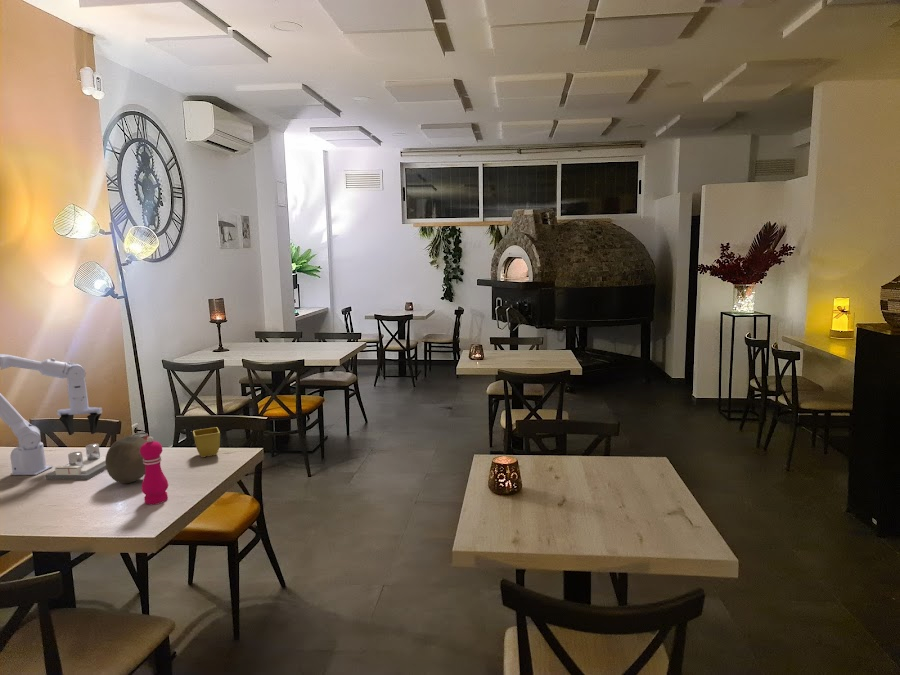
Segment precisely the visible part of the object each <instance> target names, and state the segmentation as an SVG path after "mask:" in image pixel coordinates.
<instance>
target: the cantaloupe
mask: <svg viewBox="0 0 900 675" xmlns="http://www.w3.org/2000/svg"><path fill="white" fill-rule="evenodd" d="M146 442H147V440H145V439H143V438H141V437H139V436H131V435H128V436H124V437H121V438H120V439H117V440H115V441H114V442H113V443H112V444H111V446H110V447H109V448H108V450H107V453H106V455H105V457H106V460H105V461H106V468H107V469H106V471H107V474H108V475H109V476H110V478H111V479H112V480H114V481H116V482H117V483H120V484H131V483H134V482H136V481H138V480H140V479H141V478H142V477H144V476H145V464H143V457H142V456H141V454H140V448H141V446H142V445H143V444H144V443H146Z"/></svg>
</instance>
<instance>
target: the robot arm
mask: <svg viewBox="0 0 900 675" xmlns="http://www.w3.org/2000/svg"><path fill="white" fill-rule="evenodd" d="M11 367H12V368H19V369H26V370H33V371H38V372H39V373H40V374H41V375H42V376H45V377H53V378H57V379H58V378H59V379H67V386H66V387H67V394H68V403H69V408H61V409H58V410H56V415H57V416H58V417H59V421H60V422H61V423H62V424H63V426H64V428H65V430H66V431H67V433H68V434H67V435H68V436H72V435H73V434H75V427H74V416H77V415H87V416H86V418H87V420H88V423H89V430H90V434H91V435H93V434H96V433H97V428H98V422H99V420H100V417H101V415H102V414H103V407H94V406H89V398H88V390H87V388H88V387H87V383H86V379H85V377H86V374H87V373H86V370H85V369H84V367H83V366H82V365H81V364H78V363H77V362H71V361H67V362H65V361H59V360H56V358H54V357H53V358H50V359H49V358H45V359H44V360H42V361H40V360H34V359H29V358H25V357H21V356H17V355H11V354H7V353H0V370H4V369H8V368H11ZM0 418H1V420H2V421H3V422H4V423H5V424H6V425H7V426H8V427H9V428H10V429H11V431H12V433H13V434H14V436H15V437H16V438H17V442H18V446H16V447H14V448H13V449H12V450H11V452H10V463H11V464H10V465H11V471H12V472H11V473H10V475H11V476H15V475H16V476H17V475H18V476H20V475H21V476H30V475H31V476H36V475H39V474H41V473H42V472H44V471H47V470H49V469H52V467H53V465H47V464H46V456H45V448H44V443H43V442H42V441H41V440H42V438H41V430H40V429H39V427H37V426H36V425H33V424H31V423H30V422H29V421H28V420H27V419H26V418H24V417H23V416H22V415H21V414H20V412H19V411H18V410H17V409H16V408H15V407H14V406H13V404H11V403H10V402H9V400H8V399H7V398H6V397H5V396H4V395H3V394H2V393H1V392H0Z"/></svg>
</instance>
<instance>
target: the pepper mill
mask: <svg viewBox="0 0 900 675" xmlns="http://www.w3.org/2000/svg"><path fill="white" fill-rule="evenodd" d="M162 453H163V446H162V444H161V443H160V442H159V441H157V440H154V437H153V436H149V437H148V438H147V442H146V443H144V444H143V445H142V446H141V448H140V454H141V456H142V457H143V464H145V475H144V476H143V477H144V478H143V479H142V482H141V492H142V493H143V494H144V495H145V496H144V497H143V499H144V504H146V505H150V504H152V505H159V504H161V502H162V503H164V502H166V501H167V500H168V497H169V496H168V492H167V491H166V490H168V487H169V483H168V482H169V481H168V480H167V479H168V478H167V477H166V476H165V473H164V472H163V470H162V467H161V462H162V456H161V454H162ZM163 501H164V502H163ZM158 503H159V504H158Z"/></svg>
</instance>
